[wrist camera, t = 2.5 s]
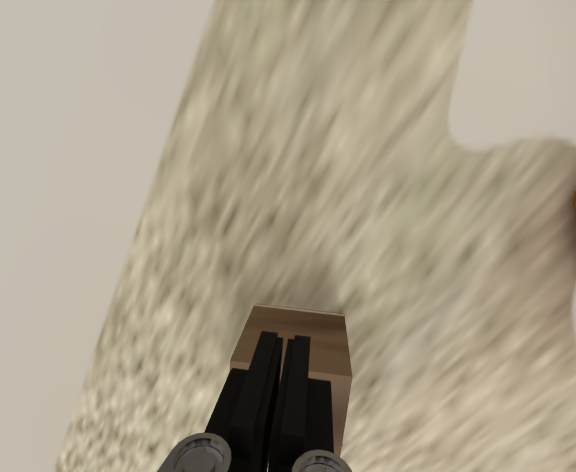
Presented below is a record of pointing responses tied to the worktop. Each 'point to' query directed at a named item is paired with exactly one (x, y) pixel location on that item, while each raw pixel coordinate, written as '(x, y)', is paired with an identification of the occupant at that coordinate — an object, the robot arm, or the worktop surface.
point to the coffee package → (574, 202)
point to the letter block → (323, 351)
